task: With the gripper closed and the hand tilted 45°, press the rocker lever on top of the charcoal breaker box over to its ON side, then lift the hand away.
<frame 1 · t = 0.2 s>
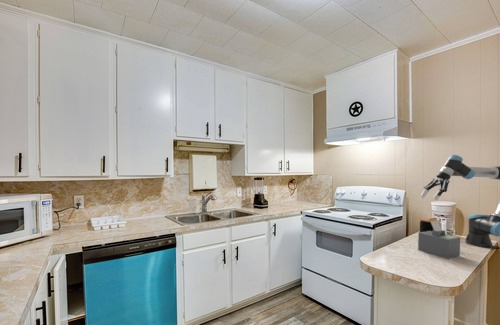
hand: (428, 198, 175), 36 cm above the countertop, tool tilted 35°, fingers open, 13 cm apart
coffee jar: (427, 243, 185), on the countertop
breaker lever: (435, 226, 166), point 18 cm above the countertop, hinge at 25.0°
breaker box: (438, 252, 164), on the countertop
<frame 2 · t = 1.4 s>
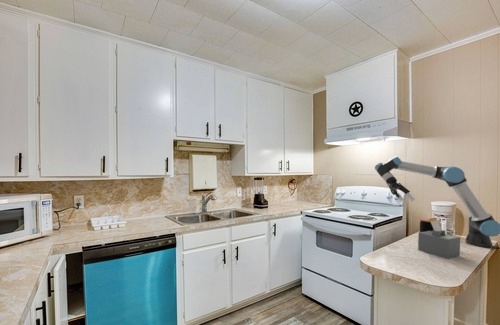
hand: (408, 200, 183), 33 cm above the countertop, tool tilted 45°, fingers open, 13 cm apart
nothing on the countertop moved.
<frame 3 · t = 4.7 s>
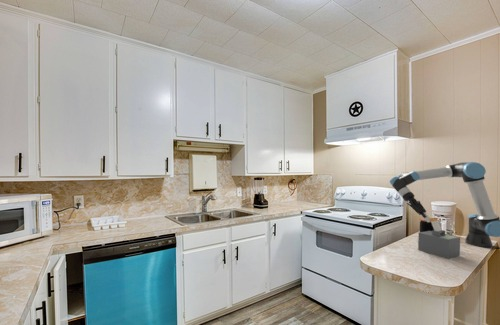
hand: (429, 221, 169), 20 cm above the countertop, tool tilted 45°, fingers closed
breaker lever: (436, 225, 166), point 18 cm above the countertop, hinge at 22.3°, touching gripper
everything else where it was.
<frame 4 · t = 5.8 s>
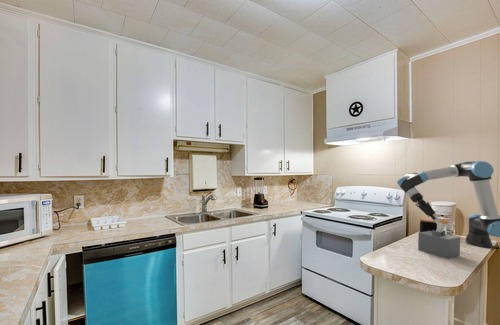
hand: (439, 223, 164), 20 cm above the countertop, tool tilted 45°, fingers closed
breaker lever: (441, 226, 163), point 18 cm above the countertop, hinge at -21.0°, touching gripper
everything else where it was.
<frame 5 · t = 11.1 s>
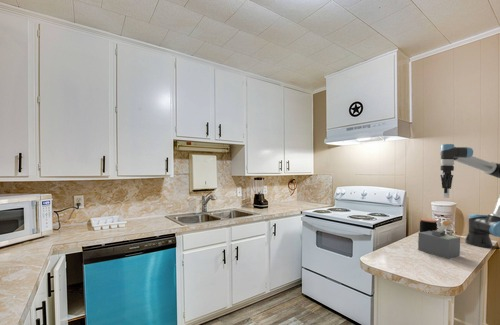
hand: (446, 197, 176), 36 cm above the countertop, tool pointing down, fingers closed
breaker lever: (442, 227, 162), point 17 cm above the countertop, hinge at -33.0°
everything else where it was.
at the end: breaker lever at -33° (first picture: +25°); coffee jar moved 0.2 cm from its start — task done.
